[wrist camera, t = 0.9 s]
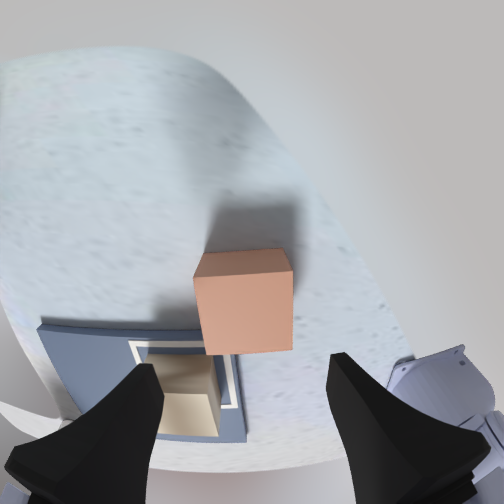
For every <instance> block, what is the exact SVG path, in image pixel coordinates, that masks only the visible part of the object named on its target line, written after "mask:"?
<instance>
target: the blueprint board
mask: <svg viewBox="0 0 504 504" xmlns="http://www.w3.org/2000/svg"><path fill="white" fill-rule="evenodd" d="M36 330H37V332H38V334H39V337H40V339H41V341H42V343H43V345H44V348H45V350H46V352H47V354H48V356H49V358H50V360H51V362H52V364H53V366H54V368H55V369H56V371H57V373H58V375H59V377H60V379H61V380H62V382H63V384H64V386H65V387H66V389H67V391H68V392H69V394H70V396H71V397H72V399H73V400H74V402H75V404H76V405H77V407H78V408H79V410H80V411H81V413H82V414H85V413H86V412H87V411H89V410H90V409H91V408H92V407H94V406H95V405H96V404H97V403H98V402H99V401H100V400H102V399H103V398H104V397H105V396H106V395H107V394H108V393H109V392H110V391H111V390H113V389H114V388H115V387H116V386H117V385H118V384H119V383H120V382H121V381H122V380H123V379H124V378H125V377H126V376H127V375H128V374H129V373H130V372H131V371H132V370H133V369H134V368H135V367H136V366H137V365H138V364H139V363H144V361H145V359H146V357H147V354H185V355H189V354H206V349H205V344H204V339H203V334H202V330H117V329H96V328H80V327H67V326H56V325H46V324H41V325H40V326H39V327H38V328H37V329H36ZM213 359H214V364H215V369H216V375H217V379H218V384H219V389H220V394H221V412H220V427H219V437H213V436H186V435H173V434H162V433H157V436H156V439H161V440H170V441H182V442H200V443H246V442H247V436H246V429H245V422H244V415H243V409H242V402H241V395H240V388H239V380H238V373H237V365H236V358H235V354H230V355H213Z"/></svg>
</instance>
